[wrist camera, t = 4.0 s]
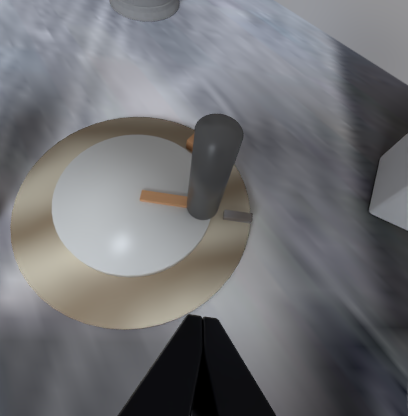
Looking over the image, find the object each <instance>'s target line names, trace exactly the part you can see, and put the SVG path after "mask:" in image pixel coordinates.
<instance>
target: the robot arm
mask: <svg viewBox="0 0 408 416" xmlns="http://www.w3.org/2000/svg"><path fill="white" fill-rule="evenodd" d="M118 416H276V415H275V413H274V411H273V410H272V408H271V406H270V405H269V403H268V401H267V400H266V398H265V396H264V395H263V393H262V391H261V390H260V388H259V386H258V385H257V383H256V381H255V380H254V378H253V376H252V375H251V373H250V371H249V370H248V368H247V366H246V365H245V363H244V361H243V360H242V358H241V356H240V355H239V353H238V351H237V350H236V348H235V347H234V345H233V343H232V342H231V340H230V338H229V337H228V335H227V333H226V332H225V330H224V328H223V327H222V325H221V323H220V322H219V320H218V319H217V318H211V317H203V318H202V317H201V316H198V315H191V314H188V315H187V316H186V317H185V319H184V320H183V322H182V323H181V324H180V326H179V327H178V329H177V330H176V332H175V333H174V335H173V336H172V337H171V339H170V340H169V342H168V343H167V345H166V346H165V348H164V349H163V351H162V352H161V353H160V355H159V356H158V358H157V359H156V361H155V362H154V364H153V365H152V367H151V368H150V369H149V371H148V372H147V374H146V375H145V377H144V378H143V380H142V381H141V383H140V384H139V385H138V387H137V388H136V390H135V391H134V393H133V394H132V396H131V397H130V399H129V400H128V401H127V403H126V404H125V406H124V407H123V409H122V410H121V412H120V413H119V414H118Z"/></svg>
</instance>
